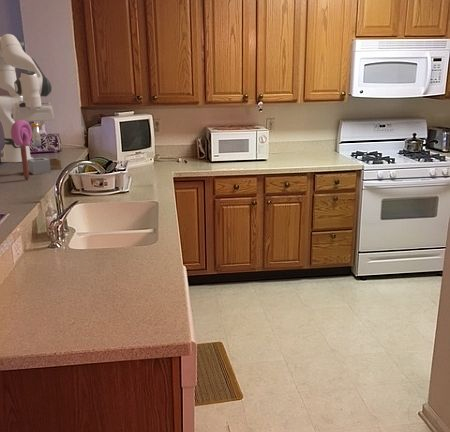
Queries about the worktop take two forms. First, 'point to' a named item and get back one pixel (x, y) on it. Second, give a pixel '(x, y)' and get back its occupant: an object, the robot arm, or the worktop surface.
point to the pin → (36, 135)
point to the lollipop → (22, 141)
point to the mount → (55, 164)
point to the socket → (39, 166)
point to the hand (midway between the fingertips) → (35, 130)
